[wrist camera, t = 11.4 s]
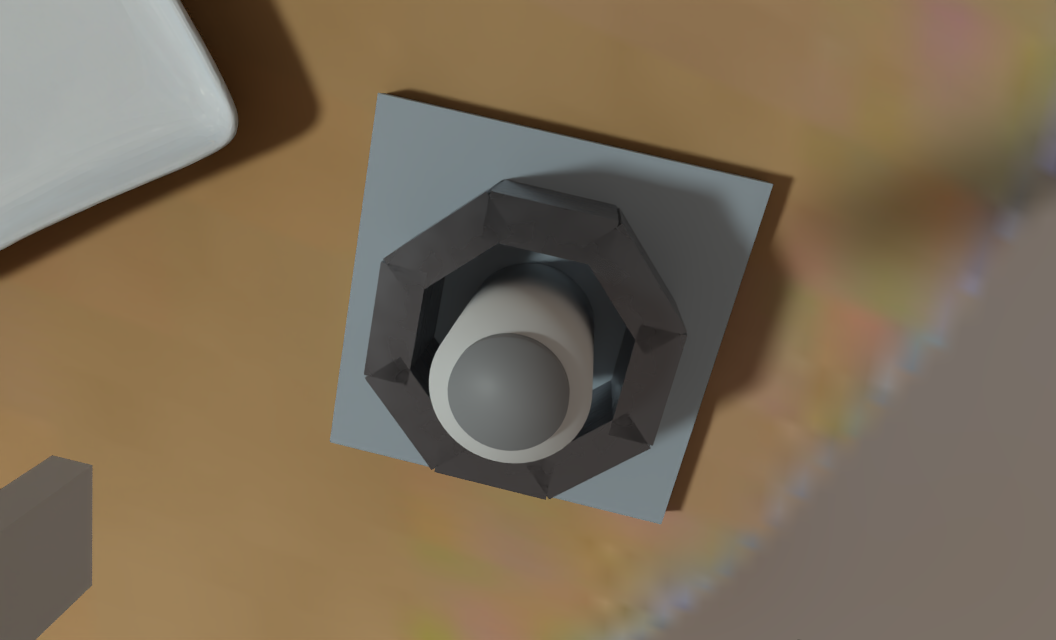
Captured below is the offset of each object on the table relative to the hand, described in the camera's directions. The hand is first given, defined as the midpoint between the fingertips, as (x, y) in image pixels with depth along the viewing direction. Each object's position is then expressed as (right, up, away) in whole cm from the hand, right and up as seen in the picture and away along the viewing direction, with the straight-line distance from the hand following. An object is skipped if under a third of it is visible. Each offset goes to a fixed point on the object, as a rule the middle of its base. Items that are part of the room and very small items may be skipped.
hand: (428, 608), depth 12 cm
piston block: (+2, +5, +18) cm, 19 cm away
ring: (+2, +5, +17) cm, 18 cm away
